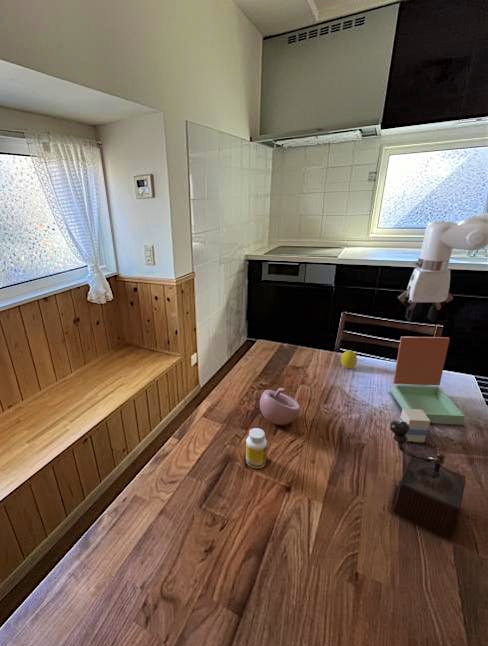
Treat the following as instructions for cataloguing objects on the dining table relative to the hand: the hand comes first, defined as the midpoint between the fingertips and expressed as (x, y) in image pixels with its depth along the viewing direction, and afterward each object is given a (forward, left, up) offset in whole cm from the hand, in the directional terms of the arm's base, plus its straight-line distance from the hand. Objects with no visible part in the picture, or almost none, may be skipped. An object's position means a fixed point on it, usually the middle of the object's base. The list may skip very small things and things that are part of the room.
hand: (419, 319), depth 109 cm
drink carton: (+9, +29, -25) cm, 39 cm away
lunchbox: (0, +15, -25) cm, 29 cm away
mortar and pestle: (+45, +25, -25) cm, 57 cm away
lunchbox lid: (0, +7, -12) cm, 14 cm away
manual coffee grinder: (+17, +52, -25) cm, 60 cm away
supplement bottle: (+52, +43, -25) cm, 72 cm away
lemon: (+17, -9, -25) cm, 31 cm away
